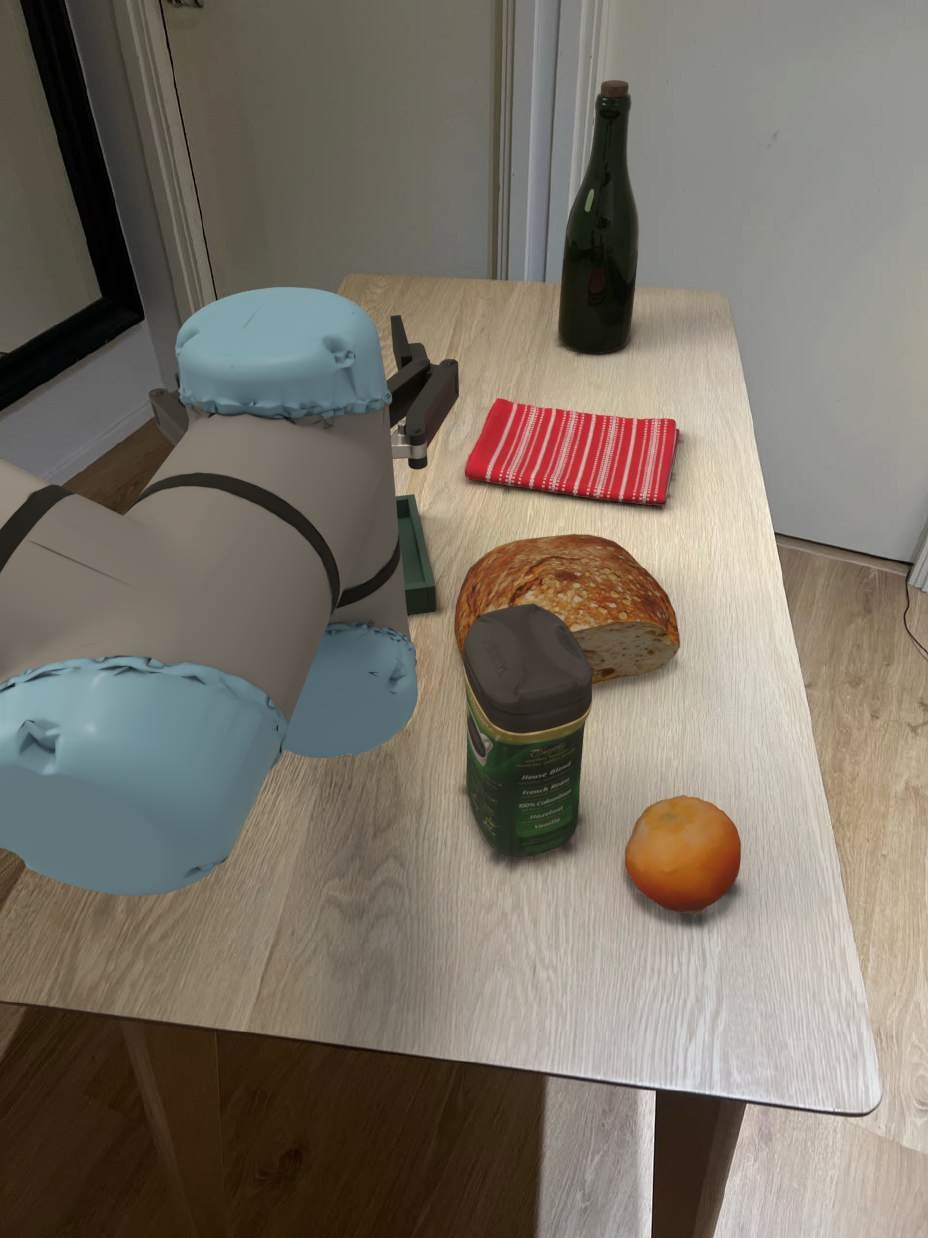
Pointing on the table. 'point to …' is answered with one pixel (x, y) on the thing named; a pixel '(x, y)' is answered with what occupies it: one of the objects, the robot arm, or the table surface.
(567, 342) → the wine bottle
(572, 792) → the coffee jar
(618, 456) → the dish towel
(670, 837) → the fruit
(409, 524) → the drinks tray
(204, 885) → the table surface
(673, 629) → the bread
